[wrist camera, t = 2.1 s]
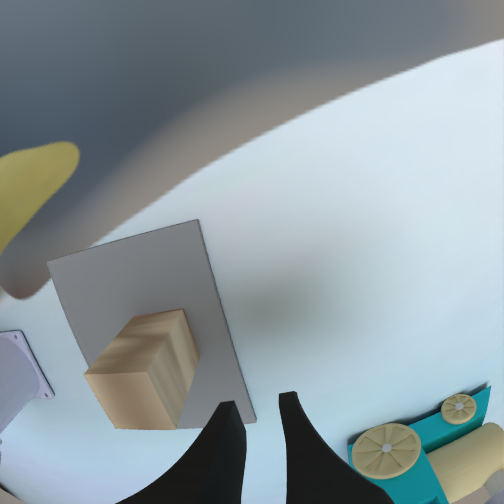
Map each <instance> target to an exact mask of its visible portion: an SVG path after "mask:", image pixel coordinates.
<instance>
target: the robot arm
mask: <svg viewBox="0 0 504 504" xmlns="http://www.w3.org/2000/svg"><path fill="white" fill-rule="evenodd" d="M32 397H39V398H48V399H53V397H54V394H53V392H52V390H51V388H50V387H49V385H48V383H47V381H46V380H45V378H44V376H43V374H42V372H41V371H40V369H39V367H38V365H37V363H36V361H35V359H34V357H33V355H32V353H31V351H30V349H29V347H28V345H27V342H26V340H25V338H24V336H23V334H22V333H21V332H20V331H10V332H0V434H1V433H2V432H3V430H4V429H5V428H6V427H7V426H8V425H9V423H10V422H11V421H12V420H13V419H14V418H15V416H16V415H17V414H18V413H19V412H20V411H21V410H22V409H23V407H24V406H25V405H26V404H27V403H28V402H29V401H30V400H31V399H32ZM279 409H280V414H281V420H282V425H283V430H284V435H285V441H286V455H287V495H286V504H395V503H394V501H393V500H392V499H391V497H390V496H389V495H388V494H387V492H386V491H385V490H384V489H383V488H381V487H379V486H378V485H376V484H374V483H373V482H371V481H369V480H368V479H366V478H365V477H363V476H362V475H361V474H359V473H358V472H356V471H355V470H354V469H353V468H352V467H350V466H349V465H348V464H347V463H346V462H344V461H343V460H342V459H341V458H340V457H339V456H338V455H337V454H336V453H335V452H334V451H333V450H332V449H331V448H330V447H329V446H328V445H327V444H326V442H325V441H324V440H323V439H322V438H321V436H320V435H319V434H318V432H317V431H316V430H315V428H314V427H313V425H312V424H311V422H310V421H309V419H308V417H307V416H306V414H305V412H304V410H303V408H302V406H301V404H300V402H299V399H298V396H297V392H295V391H291V392H286V393H280V394H279ZM1 443H2V440H1V439H0V445H1ZM246 452H247V442H246V430H245V427H244V424H243V422H242V419H241V416H240V414H239V411H238V408H237V406H236V403H235V400H233V401H225V402H220V403H219V405H218V406H217V408H216V410H215V411H214V413H213V414H212V416H211V418H210V419H209V421H208V422H207V424H206V426H205V427H204V428H203V430H202V431H201V433H200V434H199V436H198V437H197V438H196V440H195V441H194V442H193V444H192V445H191V446H190V447H189V449H188V450H187V451H186V452H185V453H184V455H183V456H182V457H181V458H180V459H179V460H178V461H177V462H176V463H175V464H174V465H173V466H172V467H171V468H170V469H169V470H168V471H166V472H165V473H164V474H163V475H162V476H160V477H159V478H158V479H157V480H155V481H154V482H153V483H151V484H150V485H148V486H147V487H145V488H144V489H142V490H141V491H139V492H137V493H136V494H134V495H132V496H130V497H128V498H126V499H124V500H122V501H120V502H118V503H116V504H241V493H242V485H243V477H244V469H245V461H246ZM0 463H1V452H0ZM485 504H504V488H503V489H502V490H500V491H499V492H497V493H496V494H494V495H493V496H492V497H490V498H489V499H488V500H487V501H486V502H485Z"/></svg>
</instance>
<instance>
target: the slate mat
mask: <svg viewBox="0 0 504 504" xmlns="http://www.w3.org/2000/svg"><path fill="white" fill-rule="evenodd" d="M47 265H48V268H49V271H50V274H51V277H52V280H53V283H54V286H55V289H56V292H57V294H58V297H59V300H60V302H61V305H62V308H63V310H64V313H65V315H66V318H67V320H68V323H69V325H70V327H71V330H72V332H73V334H74V337H75V339H76V341H77V343H78V345H79V348H80V350H81V352H82V354H83V356H84V358H85V360H86V362H87V364H88V366H89V367H90V366H91V365H92V364H93V363H94V362H95V360H96V359H97V358H98V357H99V356H100V354H101V353H102V352H103V351H104V350H105V349H106V347H107V346H108V345H109V344H110V343H111V342H112V340H113V339H114V338H115V337H116V336H117V335H118V333H119V332H120V331H121V330H122V329H123V328H124V327H125V325H126V324H127V323H128V322H129V321H130V320H131V319H132V317H134V316H140V315H146V314H152V313H158V312H164V311H170V310H176V309H182V308H183V309H184V312H185V315H186V318H187V321H188V324H189V327H190V330H191V332H192V335H193V338H194V341H195V344H196V347H197V349H198V352H199V355H200V359H199V362H198V365H197V368H196V371H195V374H194V377H193V380H192V383H191V386H190V389H189V392H188V395H187V398H186V402H185V405H184V408H183V411H182V414H181V417H180V420H179V423H178V426H177V429H188V428H204V427H205V426H206V424H207V422H208V421H209V419H210V418H211V416H212V414H213V413H214V411H215V410H216V408H217V406H218V405H219V403H220V402H225V401H233V400H235V403H236V406H237V408H238V411H239V414H240V416H241V419H242V422H243V424H250V423H256V416H255V413H254V410H253V407H252V404H251V401H250V398H249V395H248V391H247V388H246V385H245V382H244V379H243V376H242V373H241V369H240V366H239V363H238V360H237V357H236V353H235V350H234V347H233V343H232V340H231V337H230V333H229V330H228V327H227V323H226V320H225V316H224V313H223V310H222V306H221V303H220V299H219V296H218V292H217V288H216V285H215V281H214V278H213V274H212V270H211V267H210V263H209V259H208V255H207V252H206V248H205V244H204V240H203V236H202V233H201V229H200V225H199V221H198V220H194V221H190V222H186V223H182V224H178V225H174V226H170V227H166V228H162V229H158V230H154V231H151V232H147V233H143V234H139V235H136V236H132V237H128V238H125V239H121V240H117V241H114V242H110V243H107V244H103V245H100V246H96V247H93V248H89V249H86V250H83V251H80V252H76V253H73V254H69V255H66V256H63V257H59V258H56V259H53V260H50V261H48V262H47Z"/></svg>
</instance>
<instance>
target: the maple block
mask: <svg viewBox="0 0 504 504" xmlns="http://www.w3.org/2000/svg"><path fill="white" fill-rule="evenodd" d="M199 359H200V355H199V352H198V349H197V347H196V344H195V341H194V338H193V335H192V332H191V330H190V327H189V324H188V321H187V318H186V315H185V312H184V309H183V308H182V309H176V310H170V311H164V312H158V313H152V314H146V315H140V316H134V317H132V319H131V320H130V321H129V322H128V323H127V324H126V325H125V327H124V328H123V329H122V330H121V331H120V332H119V333H118V335H117V336H116V337H115V338H114V339H113V340H112V342H111V343H110V344H109V345H108V346H107V347H106V349H105V350H104V351H103V352H102V353H101V354H100V356H99V357H98V358H97V359H96V360H95V362H94V363H93V364H92V365H91V366H90V367H89V369H88V370H87V371H86V372H85V373H84V376H85V378H86V380H87V382H88V384H89V385H90V387H91V389H92V391H93V392H94V394H95V396H96V398H97V399H98V401H99V403H100V405H101V406H102V408H103V409H104V411H105V413H106V414H107V416H108V418H109V419H110V421H111V422H112V424H113V425H114V427H115V428H117V429H138V430H176V429H177V426H178V423H179V420H180V417H181V414H182V411H183V408H184V405H185V402H186V398H187V395H188V392H189V389H190V386H191V383H192V380H193V377H194V374H195V371H196V368H197V365H198V362H199Z"/></svg>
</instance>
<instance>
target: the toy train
mask: <svg viewBox="0 0 504 504" xmlns="http://www.w3.org/2000/svg"><path fill="white" fill-rule="evenodd" d="M490 390H491V386H489V387H488V388H486V389H484V390H482V391H481V392H479V393H477V394H475V395H473V396H469V395H465V394H456V395H453V396H451V397H449V398H448V399H446V400H445V401H444V403H443V404H442V408H441V412H439V413H437V414H435V415H432V416H430V417H428V418H425V419H423V420H421V421H418V422H416V423H413V424H411V425H408V426H405V425H402V424H396V423H389V424H383V425H379V426H376V427H373V428H371V429H369V430H367V431H366V432H364V433H363V434H362V435H361V436H360V437H359V438H358V439H357V440H356V442H355V443H354V444H351V445H348V454H349V465H350V467H352V468H353V469H354V470H355V471H356V472H358V473H359V474H361V475H362V476H363V477H365V478H366V479H368V480H369V481H371V482H373V483H374V484H376V485H378V486H379V487H381V488H383V489H384V490H385V491H386V492H387V494H388V495H389V496H390V497H391V499H392V500H393V501H394V503H395V504H451V503H453V502H455V501H457V500H459V499H461V498H463V497H464V496H466V495H468V494H470V493H471V492H473V491H475V490H477V489H479V488H480V487H482V486H485V488H486V490H487V491H488V493H489V495H490V497H492V496H493V495H494V494H496V493H497V492H499V491H500V490H502V489H503V488H504V431H503V429H502V428H501V427H500V426H499V425H497V424H495V423H491V422H489V423H486V424H484V425H482V423H483V421H484V418H485V415H486V411H487V407H488V401H489V396H490Z"/></svg>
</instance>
